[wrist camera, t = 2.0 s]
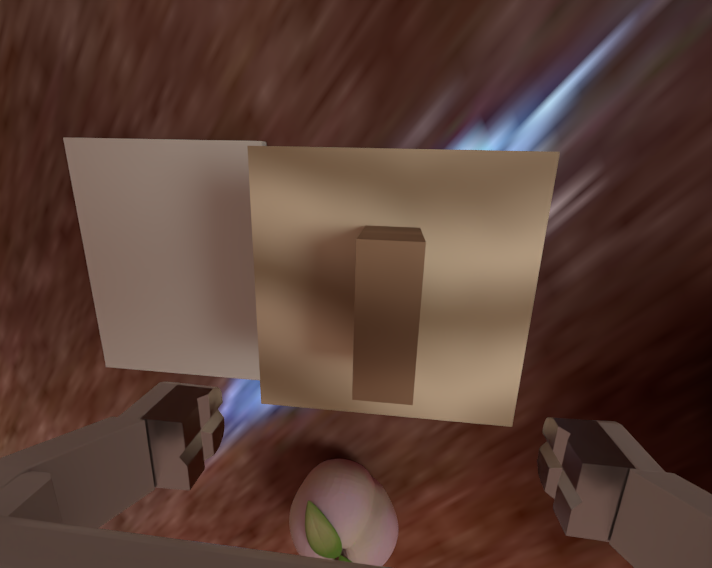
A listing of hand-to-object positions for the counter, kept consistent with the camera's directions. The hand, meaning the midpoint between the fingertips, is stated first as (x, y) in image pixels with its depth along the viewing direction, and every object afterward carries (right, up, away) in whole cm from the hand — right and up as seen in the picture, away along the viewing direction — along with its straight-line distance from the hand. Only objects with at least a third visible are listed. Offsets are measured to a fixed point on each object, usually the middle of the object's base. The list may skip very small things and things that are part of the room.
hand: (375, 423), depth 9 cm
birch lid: (+1, +3, +10) cm, 11 cm away
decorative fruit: (-1, -15, +27) cm, 31 cm away
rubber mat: (-16, +5, +22) cm, 28 cm away
